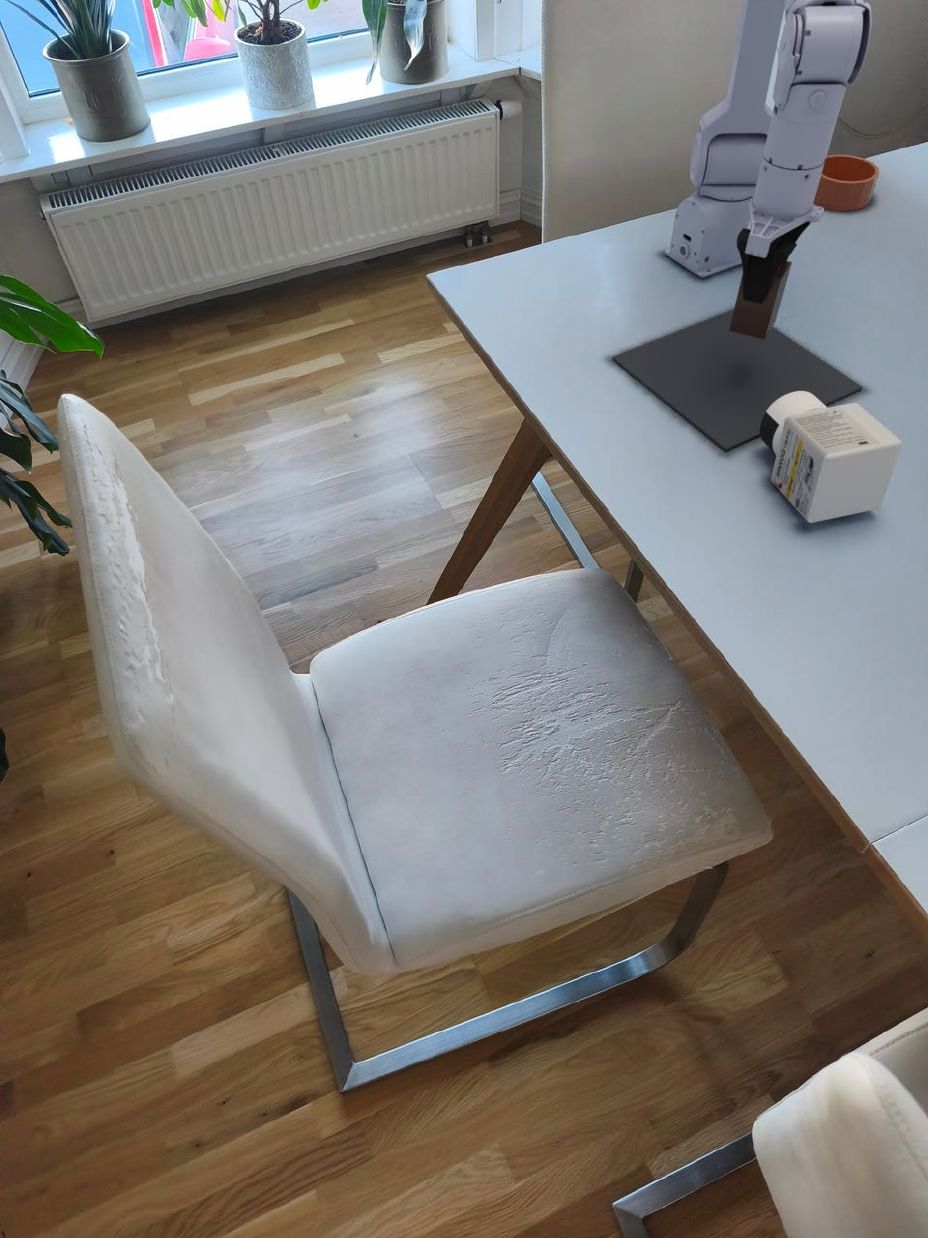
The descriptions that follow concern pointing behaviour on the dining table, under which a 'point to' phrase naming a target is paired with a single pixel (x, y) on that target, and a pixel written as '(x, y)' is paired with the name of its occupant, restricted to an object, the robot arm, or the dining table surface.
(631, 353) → the mat
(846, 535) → the dining table surface
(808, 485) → the container
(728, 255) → the robot arm
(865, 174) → the orange round bowl
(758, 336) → the block
